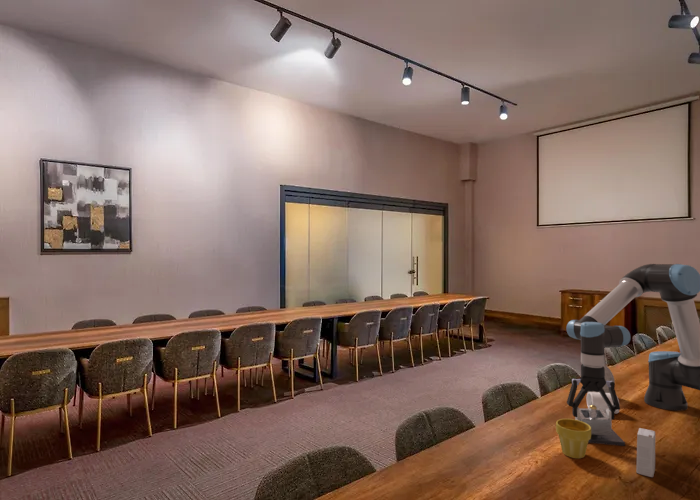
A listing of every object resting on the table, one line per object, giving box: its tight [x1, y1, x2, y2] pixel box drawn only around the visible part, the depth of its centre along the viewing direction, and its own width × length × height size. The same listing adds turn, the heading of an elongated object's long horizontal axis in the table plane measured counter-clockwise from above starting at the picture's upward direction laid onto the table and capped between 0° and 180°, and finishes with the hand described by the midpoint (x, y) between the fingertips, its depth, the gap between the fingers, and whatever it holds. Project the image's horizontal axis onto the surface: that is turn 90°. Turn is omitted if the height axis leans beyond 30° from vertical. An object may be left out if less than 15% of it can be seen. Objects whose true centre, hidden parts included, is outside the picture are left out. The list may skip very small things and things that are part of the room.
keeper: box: [588, 405, 626, 447], centre depth 152 cm, size 16×12×11 cm
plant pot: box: [555, 418, 591, 459], centre depth 139 cm, size 10×10×10 cm
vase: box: [587, 364, 616, 393], centre depth 194 cm, size 13×13×17 cm
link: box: [578, 407, 612, 435], centre depth 152 cm, size 9×9×6 cm
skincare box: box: [635, 427, 656, 478], centre depth 127 cm, size 6×4×12 cm
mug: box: [586, 392, 620, 415], centre depth 178 cm, size 12×10×8 cm
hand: (593, 426), depth 152 cm, fingers closed on link, 10 cm apart
